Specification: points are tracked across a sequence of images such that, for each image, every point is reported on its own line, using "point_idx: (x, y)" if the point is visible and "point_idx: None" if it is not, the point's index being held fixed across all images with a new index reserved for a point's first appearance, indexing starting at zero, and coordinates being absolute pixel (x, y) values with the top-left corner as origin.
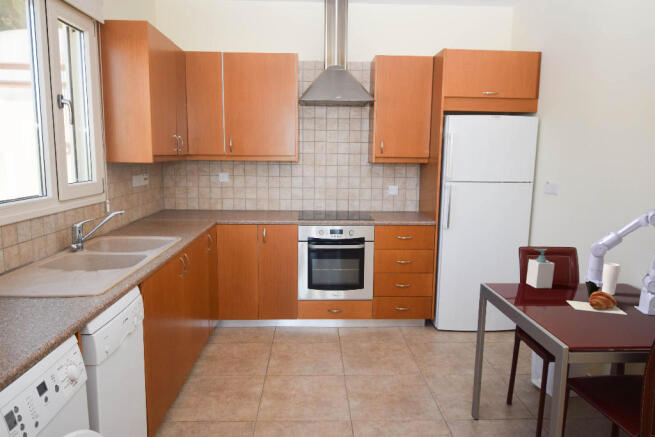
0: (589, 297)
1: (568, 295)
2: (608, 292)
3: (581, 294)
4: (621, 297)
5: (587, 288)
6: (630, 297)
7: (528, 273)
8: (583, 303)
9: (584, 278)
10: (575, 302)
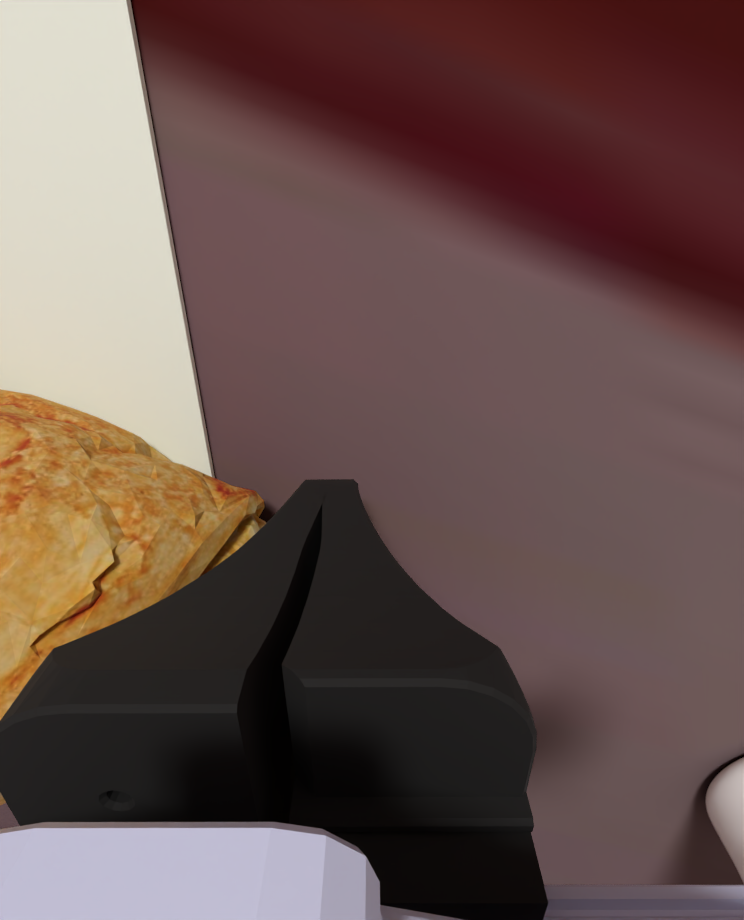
0: (303, 484)
1: (645, 152)
2: (735, 805)
3: (736, 467)
4: (635, 839)
5: (371, 566)
6: None
7: None
8: (73, 286)
9: (110, 890)
10: (41, 107)
